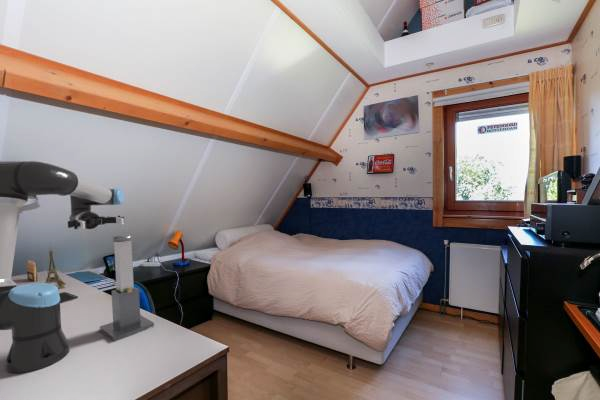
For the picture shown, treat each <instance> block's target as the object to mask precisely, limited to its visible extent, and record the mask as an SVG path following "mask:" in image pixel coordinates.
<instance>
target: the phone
mask: <svg viewBox="0 0 600 400" xmlns="http://www.w3.org/2000/svg"><path fill="white" fill-rule="evenodd" d="M59 296H60V304H63V303H66V302H69V301H73V300H77V299H78V295H75V294H71V293H69V292H66V291H63V292H59Z"/></svg>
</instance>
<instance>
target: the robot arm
mask: <svg viewBox="0 0 600 400" xmlns="http://www.w3.org/2000/svg"><path fill="white" fill-rule="evenodd" d="M44 195H45V196H46V195H55V196H57V195H58V196H61V197H62V196H63V197H64V196H69V197H70V215H69V218H68V219H69V220H68V221H67V228H69V229H71V228H73V229H74V230H79V228H80V229H84V230H92V229H95V228H97V227H98V226H100V225H101V226H102V225H106V224H116V225H125V224H124V223H125V216H121V215H117V216H99V214H97V213H95V212H93V211H92V207H93V206H116V205H117V206H118V205H122V204H123V203H124V201H125V193H124V190H122V189H120V188H108V187H106V186H103V185H100V184H98V183H95V182H93V181H90V180H88V179H85V178H82V177H79V176H78V175H77V174H76V173H75V172H74V171H71V170H69V169H67V168H63V167H60V166H58V165H54V164H51V163H46V162H43V161H36V160H33V161H32V160H31V161H25V160H24V161H21V160H19V161H1V160H0V331H7V330H8V331H9V330H10V331H11V336H12V337H11V339H12V340H11V341H12V342H11V345H10V348H9V351H8V354H7V357H6V360H5V370H6V371H7V372H8V373H11V374H23V373H29V372H34V371H37V370H41V369H44V368H46V367H48V366H50V365H53V364H55V363H57V362H59V361H60V360H63V358H65V357H66V356H67V355H68V354H69V353H70V342H69V341H68V339H67V337H66V334H65V333H64V331H63V329H62V318H61V317H62V315H61V314H62V313H61V303H60V296H59V293H60V292H59V290H60V289H58V287H57V285H55V284H52V283H50V284H49V283H45V282H35V283H34V282H33V283H26V284H25V283H24V284H21V285H17V283H16V282H15V281H13V279H12V275H13V267H14V259H15V252H16V245H17V239H18V237H17V236H18V229H19V222H20V215H21V208H22V207H23V206H25V205H26V204H28V200H29V196H30V197H31V196H44Z"/></svg>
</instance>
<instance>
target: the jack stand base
mask: <svg viewBox="0 0 600 400" xmlns="http://www.w3.org/2000/svg"><path fill="white" fill-rule="evenodd" d="M140 304H141V303H140V289H139V288H137V287H135V286H134V290H132V289H130V290H127V292H124V293H118V292H117V291H116V289H114V290H111V306H112V310H111V311H112V322H108V323H106V324H103V325H100V326H99V332H101V333H102V334H104V336H106V338H107V337H108V339H110V340H111V341H112V342H117V341H120V340H123V339H126V338H128V337H130V336H133V335H135V334H138V332H139V333H141V332H144V331H146V329H147V330H149V329H151V328H150V327H152V328H154V327H155V322H153V321H151V320H150V319H149V318H147V317H145V316H143V315H141V310H140V309H141V307H140ZM153 326H154V327H153ZM148 328H149V329H148ZM143 330H144V331H143Z"/></svg>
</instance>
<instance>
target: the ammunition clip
mask: <svg viewBox="0 0 600 400" xmlns="http://www.w3.org/2000/svg"><path fill="white" fill-rule="evenodd" d="M26 276H27V280H28V281H31V282H33V283H34V282H35V283H36V282H38V273H37V267H36V262H35V261H33V260H30V259H28V261H27V271H26Z"/></svg>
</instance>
